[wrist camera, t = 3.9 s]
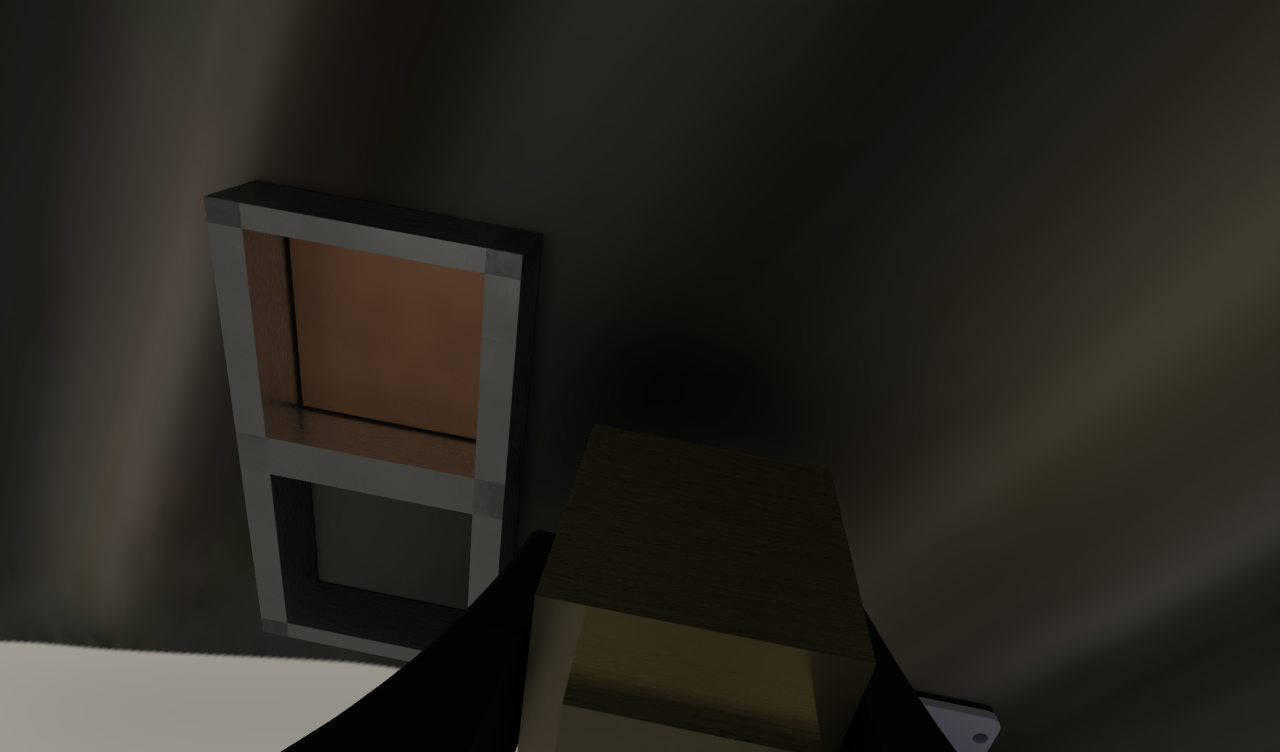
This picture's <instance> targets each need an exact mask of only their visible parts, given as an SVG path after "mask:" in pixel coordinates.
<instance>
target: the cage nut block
mask: <svg viewBox="0 0 1280 752" xmlns="http://www.w3.org/2000/svg"><path fill="white" fill-rule="evenodd" d="M875 666H876V660H875V656H874V652H873V648H872V643H871V639H870V635H869V631H868V626H867V622H866V618H865V614H864V610H863V605H862V601H861V597H860V593H859V588H858V584H857V580H856V576H855V571H854V567H853V563H852V559H851V554H850V550H849V546H848V542H847V537H846V533H845V529H844V525H843V520H842V516H841V512H840V508H839V503H838V499H837V495H836V491H835V486H834V482H833V478H832V474H831V470H830V469H825V468H820V467H815V466H810V465H805V464H799V463H794V462H789V461H784V460H779V459H773V458H768V457H763V456H758V455H753V454H747V453H742V452H737V451H732V450H727V449H721V448H716V447H711V446H706V445H701V444H696V443H690V442H685V441H680V440H675V439H670V438H664V437H659V436H654V435H649V434H644V433H638V432H633V431H628V430H623V429H618V428H612V427H607V426H602V425H597V424H594V427H593V430H592V433H591V436H590V439H589V441H588V444H587V447H586V450H585V453H584V456H583V459H582V462H581V464H580V467H579V470H578V473H577V476H576V479H575V482H574V484H573V487H572V490H571V493H570V496H569V499H568V502H567V505H566V507H565V510H564V513H563V516H562V519H561V522H560V525H559V527H558V530H557V533H556V536H555V539H554V542H553V545H552V548H551V550H550V553H549V556H548V559H547V562H546V565H545V568H544V571H543V573H542V576H541V579H540V582H539V585H538V588H537V591H536V593H535V599H534V608H533V617H532V626H531V635H530V644H529V653H528V661H527V670H526V679H525V688H524V697H523V706H522V715H521V724H520V733H519V742H518V751H517V752H838V750H839V748H840V746H841V744H842V741H843V739H844V737H845V735H846V732H847V730H848V728H849V725H850V723H851V721H852V719H853V716H854V714H855V712H856V710H857V707H858V705H859V703H860V700H861V698H862V696H863V694H864V691H865V689H866V687H867V684H868V682H869V680H870V678H871V675H872V673H873V671H874V669H875Z"/></svg>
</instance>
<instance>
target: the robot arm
mask: <svg viewBox="0 0 1280 752" xmlns="http://www.w3.org/2000/svg"><path fill="white" fill-rule="evenodd" d="M555 536H556V533H552V532H547V531H542V530H536V531H535V532H533V533H531V534H530V536H529V537H528V539H527V540H526V542H525V543H524V544H523V546H522V547H521V548H520V550H519V551H518V552H517V553H516V555H515V556H514V557H513V558H512V560H511V561H510V562H509V563H508V564H507V566H506V567H505V568H504V569H503V570H502V571H501V573H500V574H499V575H498V576H497V577H496V578H495V579H494V581H493V582H492V583H491V584H490V585H489V586H488V587H487V588H486V589H485V590H484V591H483V592H482V593H481V594H480V596H479V597H478V598H477V599H476V600H475V601H474V602H473V603H472V604H471V605H470V606H469V607H468V608H467V609H466V610H465V611H464V612H463V613H462V614H461V615H460V616H459V617H458V618H457V619H456V620H455V621H454V622H453V623H452V624H451V625H450V626H448V627H447V628H446V629H445V630H444V631H443V632H442V633H441V634H440V635H439V636H438V637H437V638H436V639H435V640H434V641H433V642H431V643H430V644H429V645H428V646H427V647H426V648H425V649H424V650H422V651H421V652H420V653H419V654H418V655H417V656H415V657H414V658H413V659H412V660H411V661H410V662H408V663H407V664H406V665H405V666H403V667H402V668H401V669H400V670H398V671H397V672H396V673H395V674H394V675H392V676H391V677H390V678H388V679H387V680H386V681H385V682H383V683H382V684H381V685H379V686H378V687H377V688H375V689H374V690H372V691H371V692H370V693H368V694H367V695H366V696H364V697H363V698H362V699H360V700H359V701H358V702H356V703H355V704H354V705H352V706H351V707H349V708H348V709H346V710H345V711H344V712H342V713H341V714H339V715H338V716H336V717H335V718H333V719H332V720H330V721H329V722H327V723H326V724H324V725H323V726H321V727H319V728H318V729H316V730H315V731H313V732H311V733H310V734H308V735H307V736H305V737H303V738H302V739H300V740H299V741H297V742H296V743H294V744H292V745H291V746H289V747H288V748H286V749H284V750H283V751H281V752H515V751H516V748H517V746H518V742H519V733H520V724H521V715H522V706H523V697H524V688H525V679H526V670H527V661H528V653H529V644H530V635H531V626H532V617H533V608H534V599H535V593H536V591H537V588H538V585H539V582H540V579H541V576H542V573H543V571H544V568H545V565H546V562H547V559H548V556H549V553H550V550H551V548H552V545H553V542H554V539H555ZM863 610H864V608H863ZM864 614H865V618H866V622H867V626H868V631H869V635H870V639H871V643H872V648H873V652H874V656H875V660H876V666H875V669H874V671H873V673H872V675H871V678H870V680H869V682H868V684H867V687H866V689H865V691H864V694H863V696H862V698H861V700H860V703H859V705H858V707H857V710H856V712H855V714H854V716H853V719H852V721H851V723H850V725H849V728H848V730H847V732H846V735H845V737H844V739H843V741H842V744H841V746H840V748H839V750H838V752H987V751H988V749H989V748H990V746H991V744H992V743H993V741H994V739H995V738H996V736H997V734H998V733H999V731H1000V728H1001V727H1000V724H999V721H998V719H997V716H996V715H995V714H994V713H993V712H990V711H987V710H982V709H977V708H972V707H967V706H962V705H957V704H952V703H948V702H943V701H938V700H933V699H928V698H923V697H918V695H917V694H916V692H915V691H914V689H913V688H912V686H911V685H910V683H909V682H908V680H907V678H906V677H905V675H904V674H903V672H902V671H901V669H900V667H899V666H898V664H897V663H896V661H895V659H894V658H893V656H892V655H891V653H890V651H889V650H888V648H887V646H886V645H885V643H884V641H883V640H882V638H881V636H880V635H879V633H878V631H877V630H876V628H875V626H874V625H873V623H872V621H871V620H870V618H869V616H868V615H867V613H866V611H865V610H864Z"/></svg>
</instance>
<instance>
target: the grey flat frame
mask: <svg viewBox="0 0 1280 752" xmlns="http://www.w3.org/2000/svg"><path fill="white" fill-rule="evenodd" d="M204 203H205V210H206V217H207V225H208V232H209V239H210V247H211V254H212V261H213V268H214V276H215V283H216V290H217V298H218V305H219V312H220V319H221V327H222V334H223V341H224V349H225V356H226V363H227V370H228V378H229V385H230V392H231V400H232V407H233V414H234V422H235V429H236V436H237V443H238V451H239V458H240V465H241V473H242V480H243V487H244V494H245V502H246V509H247V516H248V524H249V531H250V538H251V545H252V553H253V560H254V567H255V575H256V582H257V589H258V596H259V604H260V611H261V618H262V626H263V631H264V632H269V633H274V634H278V635H283V636H288V637H293V638H298V639H303V640H307V641H312V642H317V643H322V644H327V645H332V646H336V647H341V648H346V649H351V650H356V651H361V652H366V653H370V654H375V655H380V656H385V657H390V658H395V659H399V660H404V661H409V662H410V661H411V660H412V659H413V658H414V657H415V656H417V655H418V654H419V653H420V652H421V651H422V650H424V649H425V648H426V647H427V646H428V645H429V644H430V643H431V642H433V641H434V640H435V639H436V638H437V637H438V636H439V635H440V634H441V633H442V632H443V631H444V630H445V629H446V628H447V627H448V626H450V625H451V624H452V623H453V622H454V621H455V620H456V619H457V618H458V617H459V616H460V615H461V614H462V613H463V612H464V611H461V610H457V609H452V608H447V607H442V606H437V605H432V604H427V603H422V602H417V601H412V600H407V599H402V598H398V597H393V596H388V595H383V594H378V593H373V592H368V591H363V590H358V589H353V588H348V587H343V586H339V585H334V584H329V583H324V582H319V581H318V572H317V560H316V548H315V535H314V523H313V511H312V499H311V487H310V482H312V483H317V484H323V485H328V486H333V487H338V488H343V489H348V490H353V491H358V492H363V493H368V494H373V495H378V496H383V497H388V498H393V499H398V500H403V501H408V502H413V503H418V504H423V505H428V506H433V507H438V508H444V509H449V510H454V511H459V512H464V513H469V514H473V516H472V535H471V555H470V574H469V594H468V607H469V606H470V605H471V604H472V603H473V602H474V601H475V600H476V599H477V598H478V597H479V596H480V594H481V593H482V592H483V591H484V590H485V589H486V588H487V587H488V586H489V585H490V584H491V583H492V582H493V581H494V579H495V578H496V577H497V576H498V575H499V574H500V573H501V571H502V570H503V569H504V568H505V567H506V566H507V564H508V563H509V562H510V561H511V560H512V558H513V557H514V550H515V539H516V527H517V516H518V505H519V494H520V482H521V471H522V460H523V448H524V437H525V426H526V415H527V403H528V392H529V381H530V370H531V358H532V347H533V336H534V325H535V313H536V302H537V291H538V279H539V268H540V257H541V246H542V233H537V232H531V231H526V230H520V229H515V228H509V227H504V226H498V225H493V224H487V223H482V222H477V221H471V220H466V219H460V218H455V217H449V216H444V215H438V214H433V213H427V212H422V211H416V210H411V209H406V208H400V207H395V206H389V205H384V204H378V203H373V202H367V201H362V200H356V199H351V198H345V197H340V196H335V195H329V194H324V193H318V192H313V191H307V190H302V189H296V188H291V187H285V186H280V185H274V184H269V183H264V182H258V181H251V182H248V183H245V184H241V185H238V186H235V187H232V188H228V189H225V190H222V191H219V192H215V193H212V194H209V195H206V196H204Z"/></svg>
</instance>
